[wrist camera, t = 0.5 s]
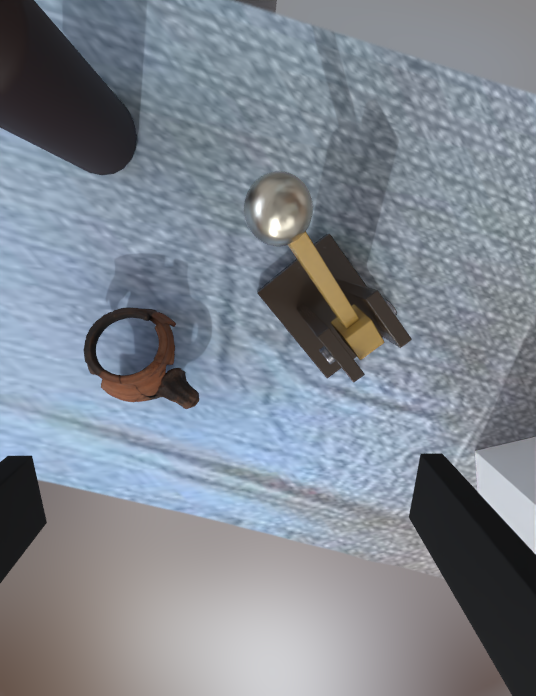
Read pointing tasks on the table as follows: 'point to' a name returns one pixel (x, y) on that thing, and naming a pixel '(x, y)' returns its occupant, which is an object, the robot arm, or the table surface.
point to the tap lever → (305, 250)
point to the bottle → (58, 94)
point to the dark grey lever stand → (328, 310)
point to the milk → (511, 485)
